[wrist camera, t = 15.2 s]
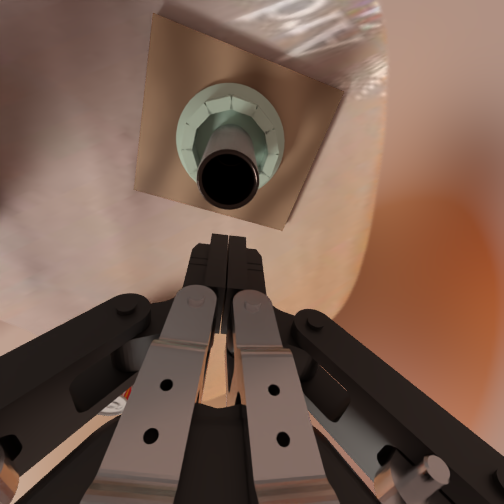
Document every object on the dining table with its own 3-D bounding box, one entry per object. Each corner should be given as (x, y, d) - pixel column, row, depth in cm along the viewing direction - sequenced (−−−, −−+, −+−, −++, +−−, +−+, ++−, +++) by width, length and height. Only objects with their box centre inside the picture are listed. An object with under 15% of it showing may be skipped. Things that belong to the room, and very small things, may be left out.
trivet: (137, 185, 32) (133, 189, 31) (156, 14, 24) (152, 12, 23) (281, 226, 36) (282, 230, 35) (340, 90, 28) (344, 91, 27)
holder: (169, 178, 31) (162, 188, 28) (189, 63, 25) (183, 63, 22) (262, 205, 33) (265, 217, 30) (300, 106, 27) (307, 110, 25)
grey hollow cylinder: (239, 177, 30) (239, 220, 22) (201, 155, 29) (185, 192, 20) (261, 139, 28) (271, 170, 20) (221, 113, 27) (214, 135, 18)
